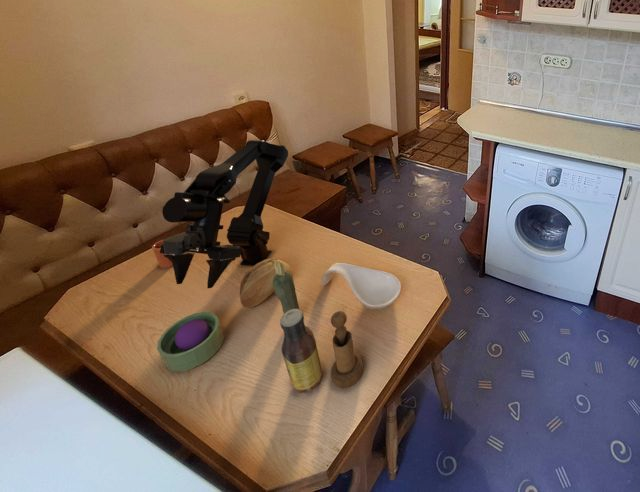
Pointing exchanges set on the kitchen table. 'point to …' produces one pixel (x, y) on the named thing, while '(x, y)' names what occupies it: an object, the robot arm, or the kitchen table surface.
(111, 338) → the kitchen table surface
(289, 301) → the vegetable
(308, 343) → the sauce bottle
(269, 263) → the bread roll
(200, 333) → the plum
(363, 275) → the spoon rest
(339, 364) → the mortar and pestle
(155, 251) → the stand
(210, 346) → the bowl
